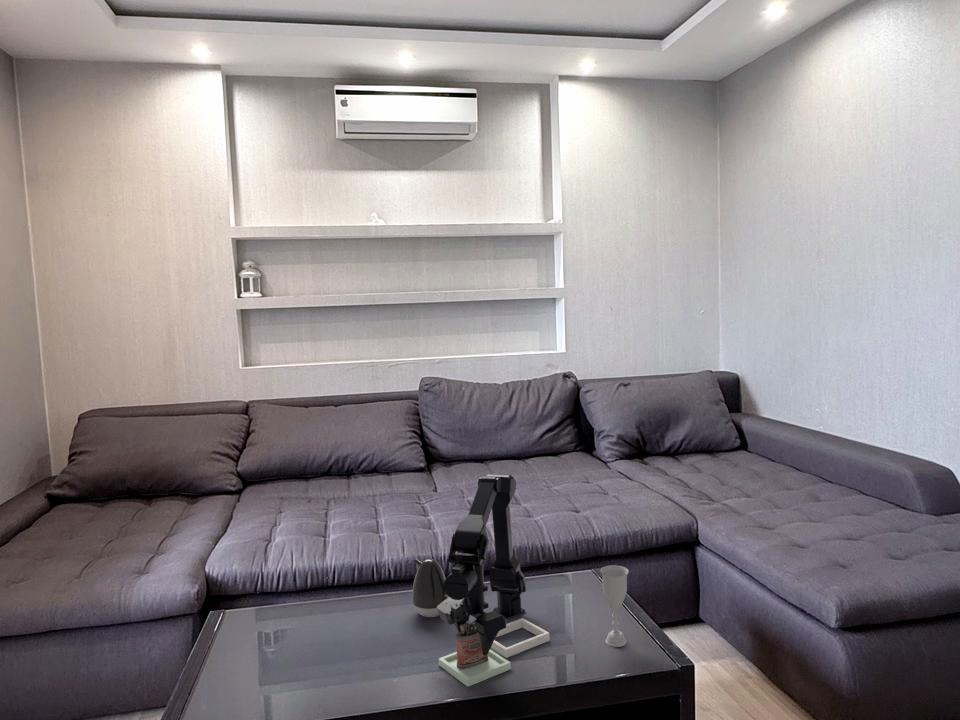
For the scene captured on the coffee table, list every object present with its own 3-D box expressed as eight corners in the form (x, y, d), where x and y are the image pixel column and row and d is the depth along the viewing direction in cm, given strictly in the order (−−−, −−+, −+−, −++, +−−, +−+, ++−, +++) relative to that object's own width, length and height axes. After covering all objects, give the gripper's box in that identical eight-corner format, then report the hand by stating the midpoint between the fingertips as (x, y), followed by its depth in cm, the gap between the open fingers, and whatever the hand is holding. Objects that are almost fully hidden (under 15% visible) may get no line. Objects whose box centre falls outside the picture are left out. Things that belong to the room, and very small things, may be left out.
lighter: (461, 671, 161) (459, 629, 160) (454, 665, 164) (452, 623, 163) (491, 660, 165) (489, 619, 165) (483, 655, 168) (482, 614, 167)
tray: (438, 665, 165) (438, 658, 165) (480, 649, 172) (480, 642, 172) (467, 686, 156) (467, 679, 156) (510, 669, 163) (510, 662, 162)
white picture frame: (480, 641, 176) (480, 633, 176) (522, 625, 184) (522, 618, 184) (506, 658, 168) (505, 649, 167) (549, 640, 175) (549, 632, 175)
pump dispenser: (428, 602, 200) (426, 550, 199) (457, 610, 194) (455, 556, 193) (404, 615, 192) (401, 561, 191) (433, 625, 186) (431, 569, 185)
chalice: (630, 650, 169) (628, 577, 168) (601, 648, 171) (599, 576, 169) (629, 635, 177) (628, 565, 175) (602, 634, 178) (600, 564, 176)
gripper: (420, 578, 165) (423, 642, 167) (464, 605, 150) (467, 675, 151) (460, 566, 172) (462, 628, 173) (506, 591, 156) (508, 658, 158)
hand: (473, 647), depth 164 cm, fingers open, 9 cm apart
